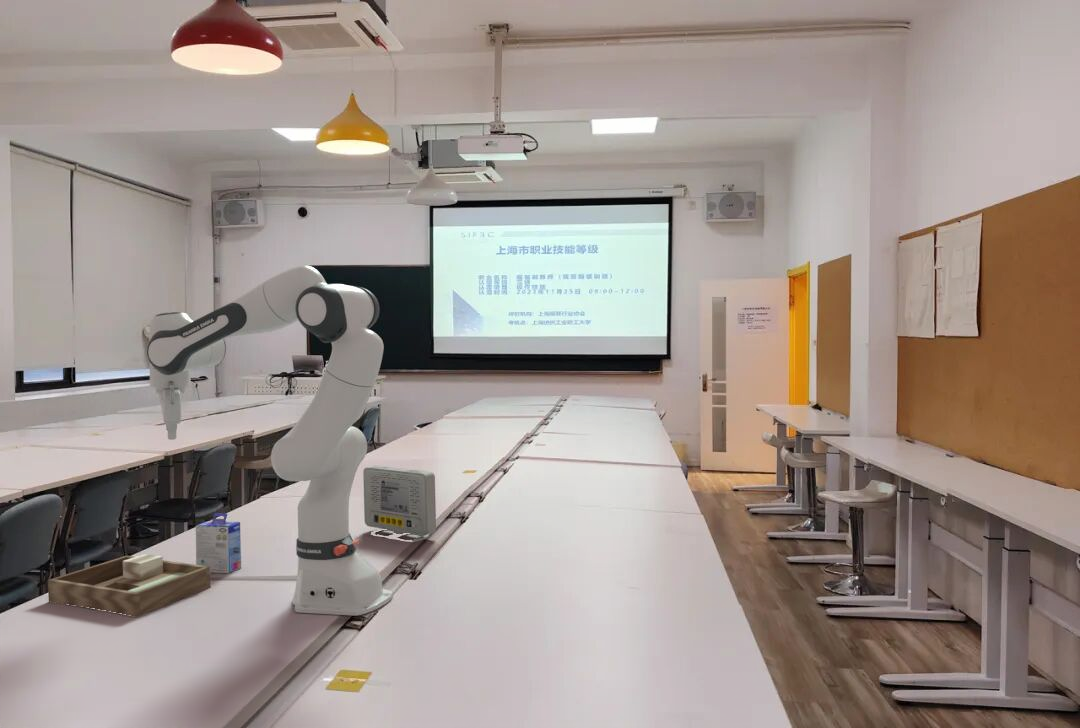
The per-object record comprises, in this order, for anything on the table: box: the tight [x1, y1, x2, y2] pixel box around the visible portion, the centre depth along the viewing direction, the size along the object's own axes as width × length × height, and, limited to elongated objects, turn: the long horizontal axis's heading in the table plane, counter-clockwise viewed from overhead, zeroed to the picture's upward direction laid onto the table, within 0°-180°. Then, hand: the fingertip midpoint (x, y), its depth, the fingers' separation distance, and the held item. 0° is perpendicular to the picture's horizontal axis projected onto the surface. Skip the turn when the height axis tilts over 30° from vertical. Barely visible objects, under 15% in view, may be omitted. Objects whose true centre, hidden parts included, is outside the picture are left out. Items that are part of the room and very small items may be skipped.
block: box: [123, 553, 164, 580], centre depth 175 cm, size 6×6×4 cm
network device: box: [362, 465, 437, 543], centre depth 218 cm, size 26×9×20 cm, turn 58°
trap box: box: [47, 555, 211, 618], centre depth 170 cm, size 28×20×5 cm
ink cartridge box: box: [195, 512, 242, 574], centre depth 187 cm, size 10×6×14 cm, turn 78°
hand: (171, 434), depth 177 cm, fingers open, 8 cm apart
